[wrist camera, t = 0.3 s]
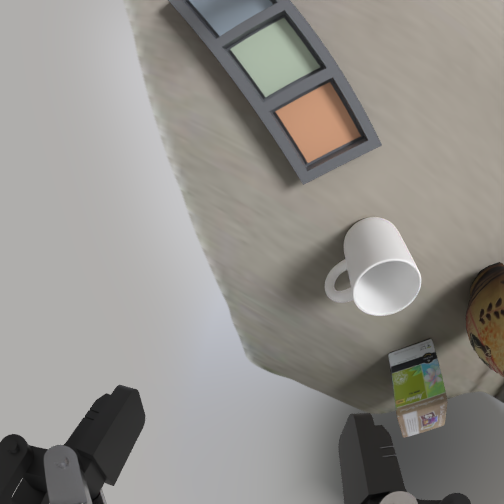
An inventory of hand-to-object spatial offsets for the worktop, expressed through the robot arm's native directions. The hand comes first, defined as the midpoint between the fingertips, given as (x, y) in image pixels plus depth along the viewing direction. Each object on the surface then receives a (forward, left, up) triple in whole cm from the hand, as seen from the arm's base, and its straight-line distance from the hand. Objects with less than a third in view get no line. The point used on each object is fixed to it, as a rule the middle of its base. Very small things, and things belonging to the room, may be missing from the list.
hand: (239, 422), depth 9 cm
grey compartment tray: (-12, +7, -30) cm, 33 cm away
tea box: (+49, +5, -30) cm, 58 cm away
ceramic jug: (+35, +24, -30) cm, 52 cm away
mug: (+15, +4, -30) cm, 34 cm away
